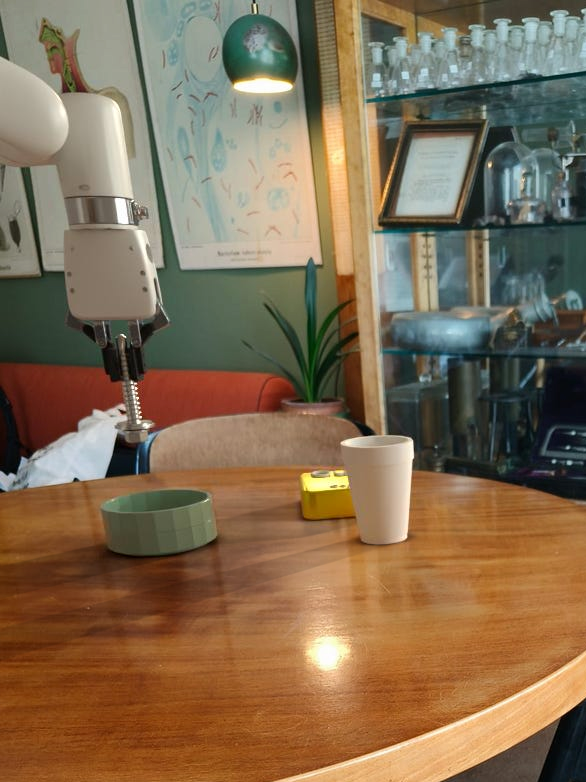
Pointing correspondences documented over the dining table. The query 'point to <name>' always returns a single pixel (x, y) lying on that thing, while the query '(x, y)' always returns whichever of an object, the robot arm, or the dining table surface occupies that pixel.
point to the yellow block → (325, 495)
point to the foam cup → (380, 485)
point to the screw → (130, 398)
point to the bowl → (159, 521)
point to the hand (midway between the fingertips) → (127, 379)
